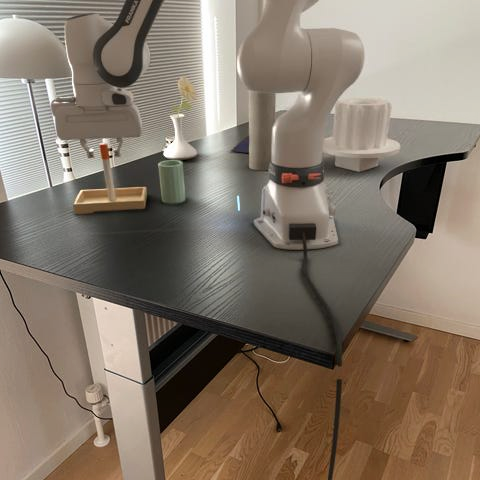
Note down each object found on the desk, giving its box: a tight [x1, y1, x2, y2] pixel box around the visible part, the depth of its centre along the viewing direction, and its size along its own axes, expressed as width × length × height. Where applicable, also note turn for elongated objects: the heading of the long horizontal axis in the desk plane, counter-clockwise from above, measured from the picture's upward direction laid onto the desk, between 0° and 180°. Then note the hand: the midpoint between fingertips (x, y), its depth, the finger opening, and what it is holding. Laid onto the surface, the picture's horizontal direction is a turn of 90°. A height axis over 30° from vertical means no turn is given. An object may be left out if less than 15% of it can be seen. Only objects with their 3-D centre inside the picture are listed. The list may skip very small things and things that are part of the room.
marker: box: [98, 142, 116, 202], centre depth 121 cm, size 2×2×14 cm
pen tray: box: [72, 186, 148, 215], centre depth 124 cm, size 11×17×3 cm, turn 97°
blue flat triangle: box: [230, 135, 249, 154], centre depth 176 cm, size 24×30×4 cm
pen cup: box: [157, 159, 187, 204], centre depth 124 cm, size 6×6×10 cm
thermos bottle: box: [248, 90, 277, 171], centre depth 145 cm, size 8×8×28 cm
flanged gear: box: [323, 97, 401, 173], centre depth 147 cm, size 25×25×19 cm
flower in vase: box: [163, 76, 198, 161], centre depth 157 cm, size 13×11×25 cm
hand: (104, 157), depth 118 cm, fingers open, 5 cm apart
